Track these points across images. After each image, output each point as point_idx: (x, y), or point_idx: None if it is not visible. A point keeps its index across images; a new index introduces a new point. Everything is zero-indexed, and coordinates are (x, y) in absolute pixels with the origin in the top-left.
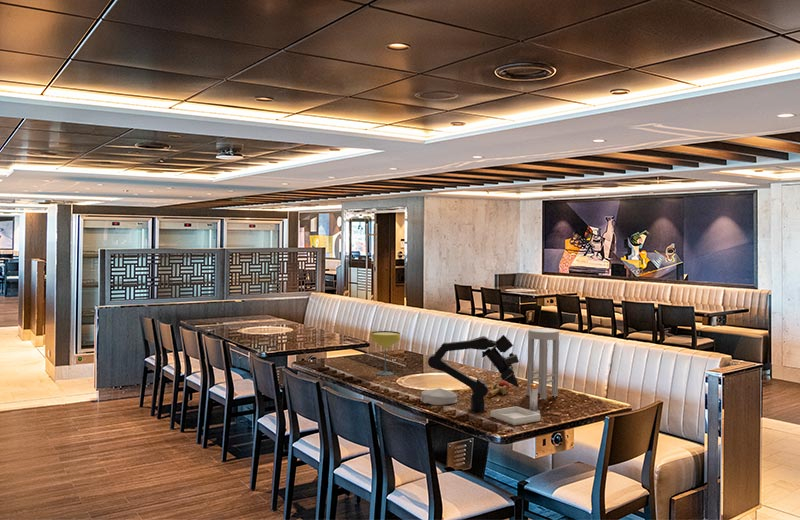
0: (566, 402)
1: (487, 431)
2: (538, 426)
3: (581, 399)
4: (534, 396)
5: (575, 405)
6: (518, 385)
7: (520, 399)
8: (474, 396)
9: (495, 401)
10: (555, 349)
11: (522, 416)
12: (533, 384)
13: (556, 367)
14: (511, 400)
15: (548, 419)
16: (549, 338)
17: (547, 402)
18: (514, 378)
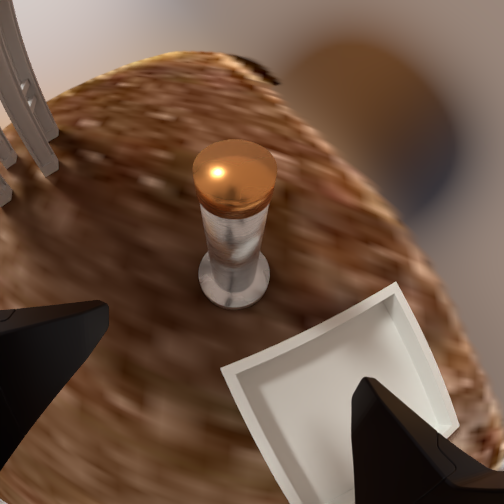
0: (119, 118)
1: None
2: (450, 325)
3: (112, 89)
4: (263, 232)
5: (162, 106)
6: (376, 383)
7: (20, 248)
8: None
9: None
10: (7, 7)
11: (345, 370)
12: (231, 169)
13: (24, 58)
14: (17, 291)
15: (358, 250)
16: None
17: (92, 165)
18: (463, 454)
